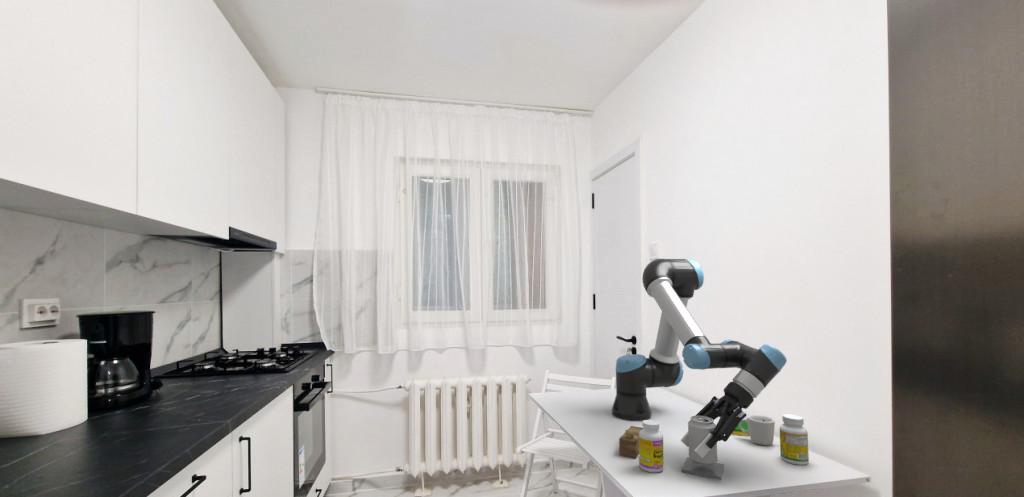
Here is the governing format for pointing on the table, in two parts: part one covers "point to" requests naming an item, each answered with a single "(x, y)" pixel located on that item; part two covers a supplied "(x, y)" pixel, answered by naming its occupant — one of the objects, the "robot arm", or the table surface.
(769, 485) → the table surface
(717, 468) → the trivet
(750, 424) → the cup
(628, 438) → the walnut block
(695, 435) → the can
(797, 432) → the supplement bottle
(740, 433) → the dish sponge
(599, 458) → the table surface
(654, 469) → the supplement bottle
